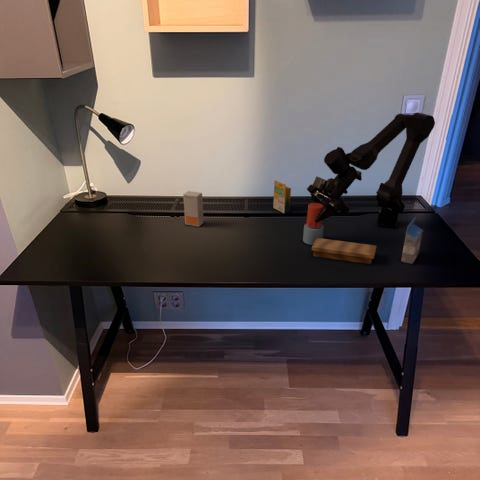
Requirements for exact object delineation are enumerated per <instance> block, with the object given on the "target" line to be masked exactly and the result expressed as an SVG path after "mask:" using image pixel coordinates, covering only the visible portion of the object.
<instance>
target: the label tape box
mask: <svg viewBox="0 0 480 480" xmlns="http://www.w3.org/2000/svg"><path fill="white" fill-rule="evenodd" d="M416 219H417V217H416V216H415V217H414V218H413V219H412V220H411V221H410V223H409V224H408V225H407V228H406V232H405V237H404V242H403V246H402V247H403V248H402V253H401V260H400V262H402V263H406V264H411V265H412V264H414V263H415V260H416V259H417V257H418V256H419V255H420V251H421V246H422V242H423V236H424V229H422V228H420V227H419V226H417V225H416V224H415V221H416Z"/></svg>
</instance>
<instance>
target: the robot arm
mask: <svg viewBox="0 0 480 480" xmlns="http://www.w3.org/2000/svg"><path fill="white" fill-rule="evenodd" d="M435 125H436V121H435V118H434V116H433V115H430V114H427V113H422V112H419V111H418V112H415V113H413V114H410V113H409V114H407V113H397V114H396V115H394V118H393V119H392V120H391V121H390V122H389V123H388V124H387V125H385V126H384V127H383V128H382V129H381V130H380V131H379V132H378V133H377V134H375V136H373V137H372V138H371V139H370V140H369V141H368V142H366V143H363V144H359V146H357V147H355V148H354V149H353V150H352V151H351V152H348V153H346V152H345V150H344V148H343V147H341V146H337V148H336V149H335V148H334V149H332V150H331V151H329V152H327V153H326V154H325V156H324V158H323V163H324V164H325V165H326V166H327V168H328V169H329V170H330V171H331V172H332V174H334V175H336V176H334V178H333V177H330V178H327V179H325V178H322V177H319V176H317V175H316V176H315V178H314V180H313V183H312V184H309V185H308V187H307V188H306V191H308V193H309V194H310V196H311V201H310V204H311V203H320V204H322V205H323V209H322V211H321V212H320V213H319V215H318V216H317V217H316V219H315V222H316V223H317V222H319V221H321V220H322V221H323V220H325V219H328V218H330V217H332V216H335V215H339V214H341V215H343V216H345V217H346V216H347V215H348V213H350V207H349V206H348V204H347V203H346V202H345V201H344V200H343V199H342V198H341V197H342V196H343V195H347V194H348V193H349V191H348V189H349V188H350V187H351V185H352V184H353V183H354V182H355V181H356V180H358V181H360V182H361V181H362V180H363V178H362V171H367V170H369V169H370V168H371V167H373V165H374V164H375V162H376V161H377V160H378V156H379V154H380V153H381V151H383V150H384V149H385V148H386V147H387V146H388V145H390V143H392V142H393V140H395V139H396V138H397V137H398V136H399V135H400V134H401V133H402V132H403V131H406V132H405V137H406V139H405V141H404V144H403V146H402V148H401V150H400V153H399V155H398V158H397V160H396V162H395V164H394V167H393V169H392V171H391V174H390V176H389V178H388V180H386V181H385V182H380V184H379V186H378V189H377V190H376V192H375V194H376V195H375V199H376V201H377V206H378V207H380V208H381V209H380V210H379V211H378V217H377V226H378V227H380V228H388V229H389V228H390V229H396V228H397V225H398V218H399V214H401V213H402V212H404V210H405V208H406V205H405V204H404V202H403V201H402V200H401V199H402V197H403V183H404V181H405V179H406V177H407V174H408V172H409V169H410V168H411V166H412V163H413V161H414V159H415V156H416V154H417V153H418V150H419V148H420V145H421V144H422V143H423V142H424V141H425V140H426V139H428V138H429V136H430V134H431V133H432V131H433V129H434V128H435ZM357 169H360V170H361V171H360V170H357ZM323 201H324V203H323ZM305 216H306V217H307V216H308V211H307V212H306V215H305Z"/></svg>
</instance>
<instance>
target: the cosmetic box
mask: <svg viewBox="0 0 480 480" xmlns="http://www.w3.org/2000/svg"><path fill="white" fill-rule="evenodd" d="M182 197H183V209H184V210H183V212H184V224H185V225H188V226H193V227H198V228H199V227H201V226H202V225H203V224H204V222H205V221H204V201H203V193H202V192H197V191H191V190H187V191H186V192H184V193H183V195H182Z"/></svg>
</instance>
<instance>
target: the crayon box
mask: <svg viewBox="0 0 480 480" xmlns="http://www.w3.org/2000/svg"><path fill="white" fill-rule="evenodd" d="M273 182H274V183H273V185H274V186H273V205H272V207H273V208H272V209H274V210H276V211H279V212H280V213H282V214H288V213H290V211H291V210H290V209H291V195H292V194H291V193H292V188H291V187H289V186H287V184H285V183H283V182H281V181H277V180H274V181H273Z"/></svg>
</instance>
